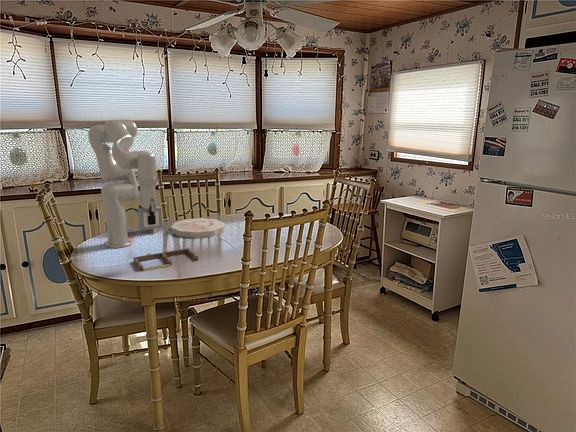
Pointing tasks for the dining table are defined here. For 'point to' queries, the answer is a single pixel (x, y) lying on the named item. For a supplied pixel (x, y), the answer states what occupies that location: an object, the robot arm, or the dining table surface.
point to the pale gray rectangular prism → (144, 219)
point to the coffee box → (150, 229)
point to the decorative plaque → (198, 228)
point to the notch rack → (162, 255)
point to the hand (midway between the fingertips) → (150, 222)
